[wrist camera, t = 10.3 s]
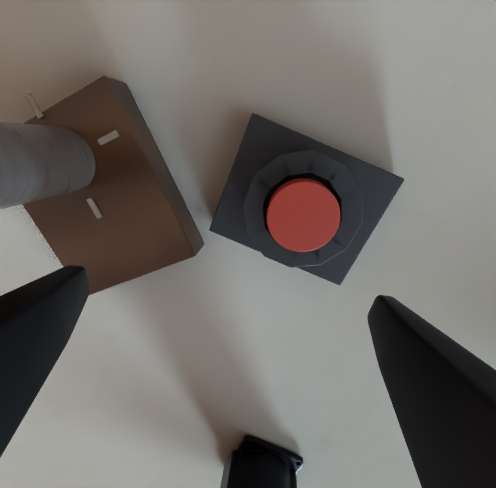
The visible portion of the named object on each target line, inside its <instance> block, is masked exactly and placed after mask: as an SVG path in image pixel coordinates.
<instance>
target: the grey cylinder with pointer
mask: <svg viewBox="0 0 496 488" xmlns="http://www.w3.org/2000/svg"><path fill="white" fill-rule="evenodd" d="M95 166H96V165H95V158H94V155H93V152H92V150H91V148H90V146H89V144H88V143H87V142H86V140H85V139H84V138H83V137H82V136H81V135H80V134H78V133H77V132H75V131H74V130H72V129H70V128H67V127H62V126H50V125H35V124H21V123H7V122H0V209H4V208H8V207H12V206H17V205H21V204H25V203H29V202H33V201H37V200H42V199H46V198H50V197H54V196H58V195H62V194H67V193H71V192H75V191H79V190H82V189H84V188H85V187H87V186H88V185H89V184H90V182H91V181H92V179H93V177H94V174H95Z"/></svg>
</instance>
